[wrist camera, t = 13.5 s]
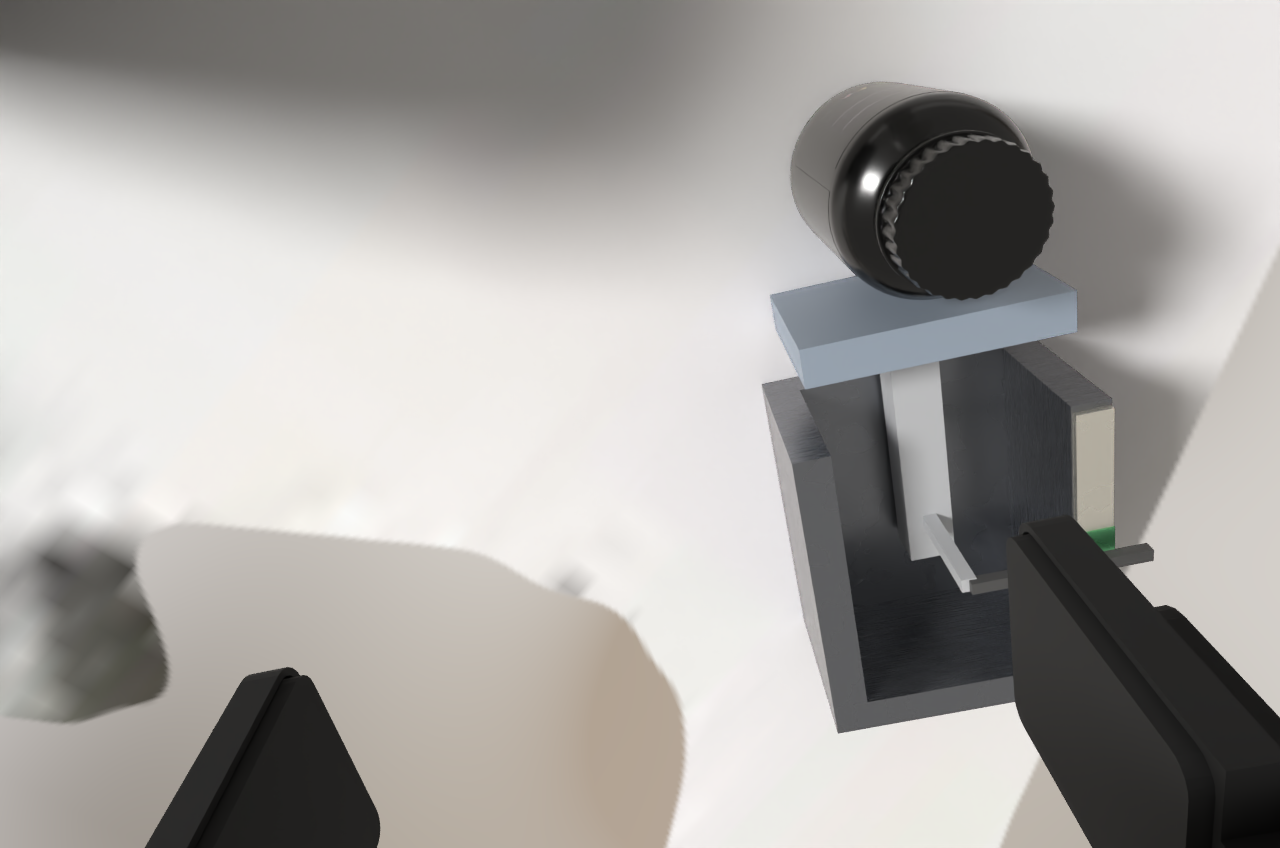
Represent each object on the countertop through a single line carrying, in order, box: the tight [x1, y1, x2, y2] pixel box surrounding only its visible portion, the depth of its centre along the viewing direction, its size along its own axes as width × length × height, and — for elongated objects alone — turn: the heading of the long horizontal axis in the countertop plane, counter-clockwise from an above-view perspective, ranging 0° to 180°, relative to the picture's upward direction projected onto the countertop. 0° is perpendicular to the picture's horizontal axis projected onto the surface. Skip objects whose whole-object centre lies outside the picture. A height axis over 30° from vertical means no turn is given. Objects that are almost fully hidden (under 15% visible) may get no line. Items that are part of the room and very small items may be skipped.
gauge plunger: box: [770, 264, 1154, 595], centre depth 36 cm, size 13×12×9 cm
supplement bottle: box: [790, 82, 1055, 301], centre depth 31 cm, size 7×7×12 cm
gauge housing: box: [762, 341, 1115, 733], centre depth 39 cm, size 14×12×8 cm
